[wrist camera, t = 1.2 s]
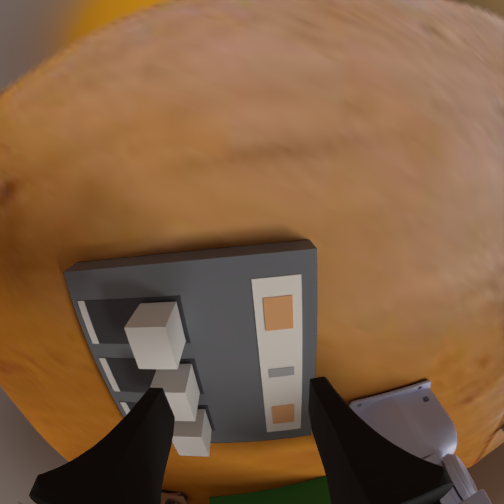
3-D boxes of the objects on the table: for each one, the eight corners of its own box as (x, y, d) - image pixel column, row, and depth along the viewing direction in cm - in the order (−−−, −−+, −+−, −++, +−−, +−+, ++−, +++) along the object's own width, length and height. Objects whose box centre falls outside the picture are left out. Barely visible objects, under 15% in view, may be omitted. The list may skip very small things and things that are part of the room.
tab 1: (176, 301, 17) (165, 326, 14) (185, 340, 18) (177, 369, 15) (140, 303, 17) (124, 327, 14) (151, 341, 18) (138, 368, 15)
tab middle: (191, 363, 19) (185, 392, 16) (199, 392, 20) (195, 421, 17) (158, 364, 19) (148, 391, 16) (168, 392, 20) (161, 420, 17)
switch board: (309, 239, 19) (317, 249, 16) (307, 419, 24) (311, 435, 22) (76, 262, 19) (62, 272, 16) (140, 424, 24) (135, 439, 22)
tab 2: (204, 408, 20) (201, 437, 17) (211, 429, 21) (209, 456, 18) (175, 408, 20) (169, 435, 17) (184, 429, 21) (179, 455, 18)
